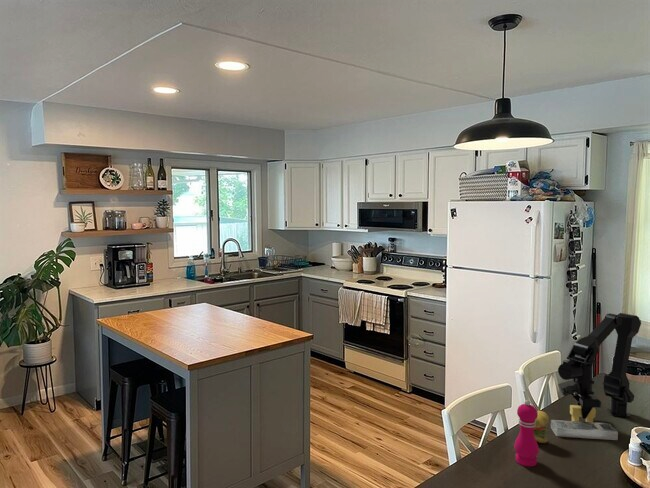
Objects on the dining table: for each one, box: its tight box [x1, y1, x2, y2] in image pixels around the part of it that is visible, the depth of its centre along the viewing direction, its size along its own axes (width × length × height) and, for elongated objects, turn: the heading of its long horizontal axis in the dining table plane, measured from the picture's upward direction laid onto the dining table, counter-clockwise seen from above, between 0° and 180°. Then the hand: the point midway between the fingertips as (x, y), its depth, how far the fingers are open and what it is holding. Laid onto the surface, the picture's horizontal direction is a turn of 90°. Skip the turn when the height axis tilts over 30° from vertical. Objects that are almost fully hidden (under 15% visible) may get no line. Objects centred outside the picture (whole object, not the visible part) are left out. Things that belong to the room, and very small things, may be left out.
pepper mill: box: [513, 399, 540, 467], centre depth 156 cm, size 7×7×20 cm
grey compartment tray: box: [550, 419, 619, 441], centre depth 176 cm, size 20×7×3 cm, turn 81°
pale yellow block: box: [569, 404, 597, 422], centre depth 185 cm, size 8×3×6 cm, turn 81°
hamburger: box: [534, 410, 550, 444], centre depth 170 cm, size 8×7×12 cm
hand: (582, 416), depth 186 cm, fingers closed on pale yellow block, 3 cm apart
